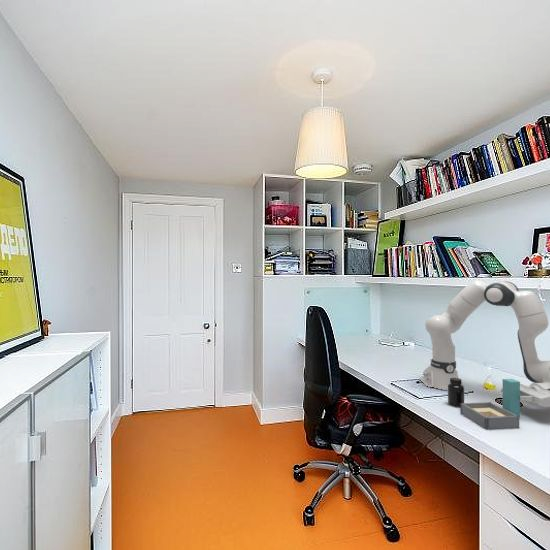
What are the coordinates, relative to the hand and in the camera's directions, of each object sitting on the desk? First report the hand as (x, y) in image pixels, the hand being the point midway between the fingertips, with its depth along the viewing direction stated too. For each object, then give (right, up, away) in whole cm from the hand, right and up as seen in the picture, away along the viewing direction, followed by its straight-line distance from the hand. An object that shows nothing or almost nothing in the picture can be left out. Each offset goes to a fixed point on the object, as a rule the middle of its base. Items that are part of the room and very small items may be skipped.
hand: (510, 394), depth 152 cm
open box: (-13, -9, -6) cm, 17 cm away
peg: (0, -9, 0) cm, 9 cm away
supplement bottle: (-17, -9, +12) cm, 23 cm away
